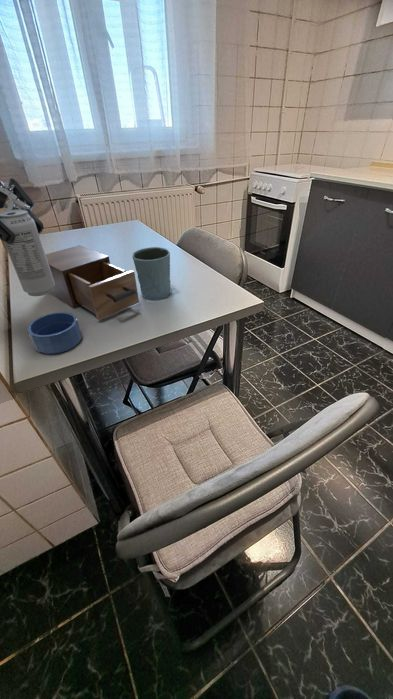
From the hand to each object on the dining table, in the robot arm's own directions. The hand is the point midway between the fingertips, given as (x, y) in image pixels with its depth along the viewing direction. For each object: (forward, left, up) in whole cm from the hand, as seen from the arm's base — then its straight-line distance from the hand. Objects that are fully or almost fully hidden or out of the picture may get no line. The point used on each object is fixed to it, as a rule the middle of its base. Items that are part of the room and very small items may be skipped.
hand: (27, 235), depth 53 cm
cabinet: (+16, +21, -24) cm, 36 cm away
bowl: (-1, +1, -24) cm, 24 cm away
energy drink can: (-1, +2, -11) cm, 12 cm away
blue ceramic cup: (+30, +3, -24) cm, 39 cm away
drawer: (+16, +6, -23) cm, 29 cm away
